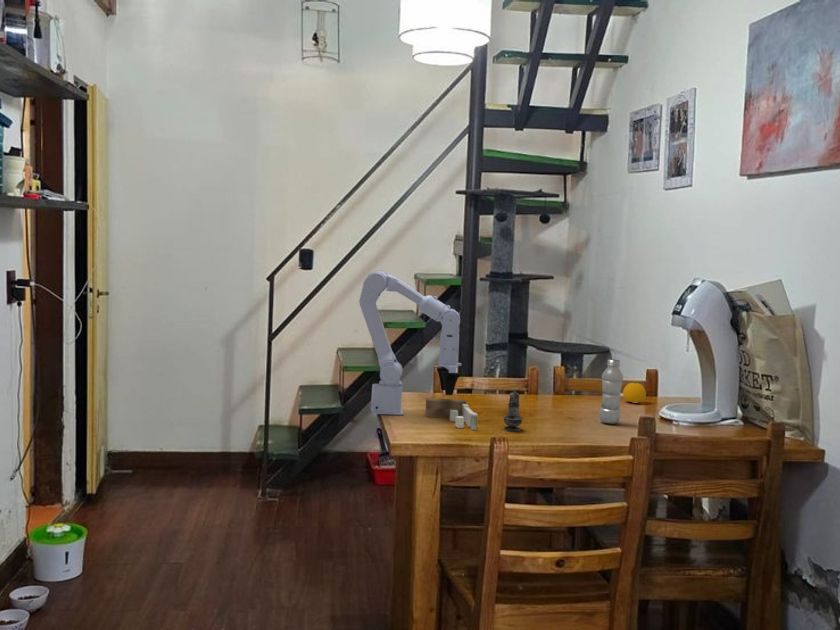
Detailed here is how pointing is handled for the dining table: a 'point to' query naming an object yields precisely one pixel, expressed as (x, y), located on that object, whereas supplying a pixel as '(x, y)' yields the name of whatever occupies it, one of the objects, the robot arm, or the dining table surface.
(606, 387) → the plastic bottle
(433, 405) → the block
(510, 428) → the dark grey tall piece
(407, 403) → the dining table surface
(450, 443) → the dining table surface
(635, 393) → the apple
